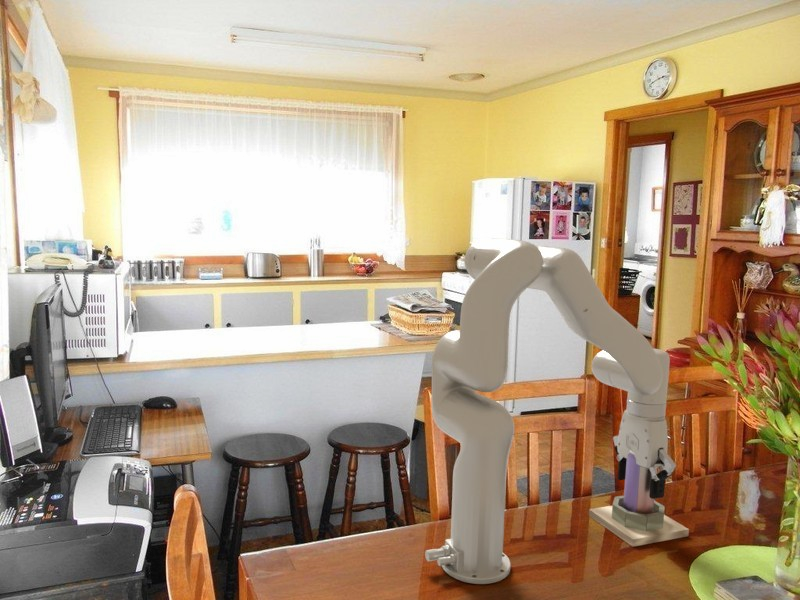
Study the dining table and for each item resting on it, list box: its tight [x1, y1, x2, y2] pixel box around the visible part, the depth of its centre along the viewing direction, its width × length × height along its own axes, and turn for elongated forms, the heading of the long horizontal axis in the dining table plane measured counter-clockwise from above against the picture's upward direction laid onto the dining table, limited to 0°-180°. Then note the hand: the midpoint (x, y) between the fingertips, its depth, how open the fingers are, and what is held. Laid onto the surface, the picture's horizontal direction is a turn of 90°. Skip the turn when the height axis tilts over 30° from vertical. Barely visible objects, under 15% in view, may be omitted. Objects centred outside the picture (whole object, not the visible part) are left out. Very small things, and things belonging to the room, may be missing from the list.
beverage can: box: [623, 451, 658, 515], centre depth 136 cm, size 6×6×15 cm
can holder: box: [588, 495, 690, 548], centre depth 137 cm, size 14×14×4 cm
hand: (639, 488), depth 137 cm, fingers open, 9 cm apart
